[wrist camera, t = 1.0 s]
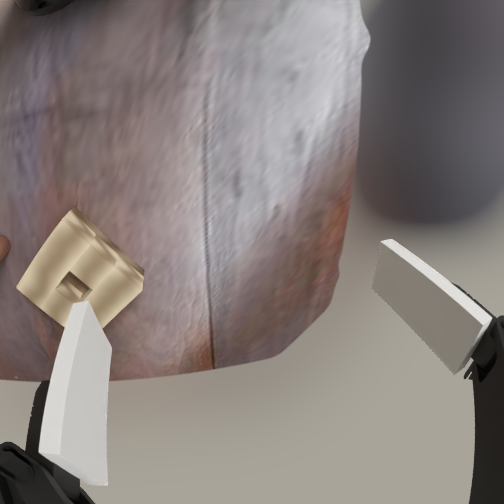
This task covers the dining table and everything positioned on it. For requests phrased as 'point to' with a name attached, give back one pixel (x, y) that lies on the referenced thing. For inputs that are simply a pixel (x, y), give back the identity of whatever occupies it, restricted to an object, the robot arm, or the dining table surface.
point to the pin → (4, 246)
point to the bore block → (81, 272)
